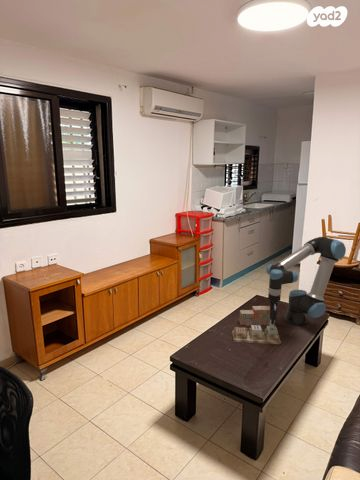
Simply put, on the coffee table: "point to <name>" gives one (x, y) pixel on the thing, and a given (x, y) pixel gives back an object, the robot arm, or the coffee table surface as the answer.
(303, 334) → the coffee table surface
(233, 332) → the button board
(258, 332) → the tile
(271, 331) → the light grey block
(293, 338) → the coffee table surface
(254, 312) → the stack of blocks
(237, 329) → the tile
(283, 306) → the coffee table surface
